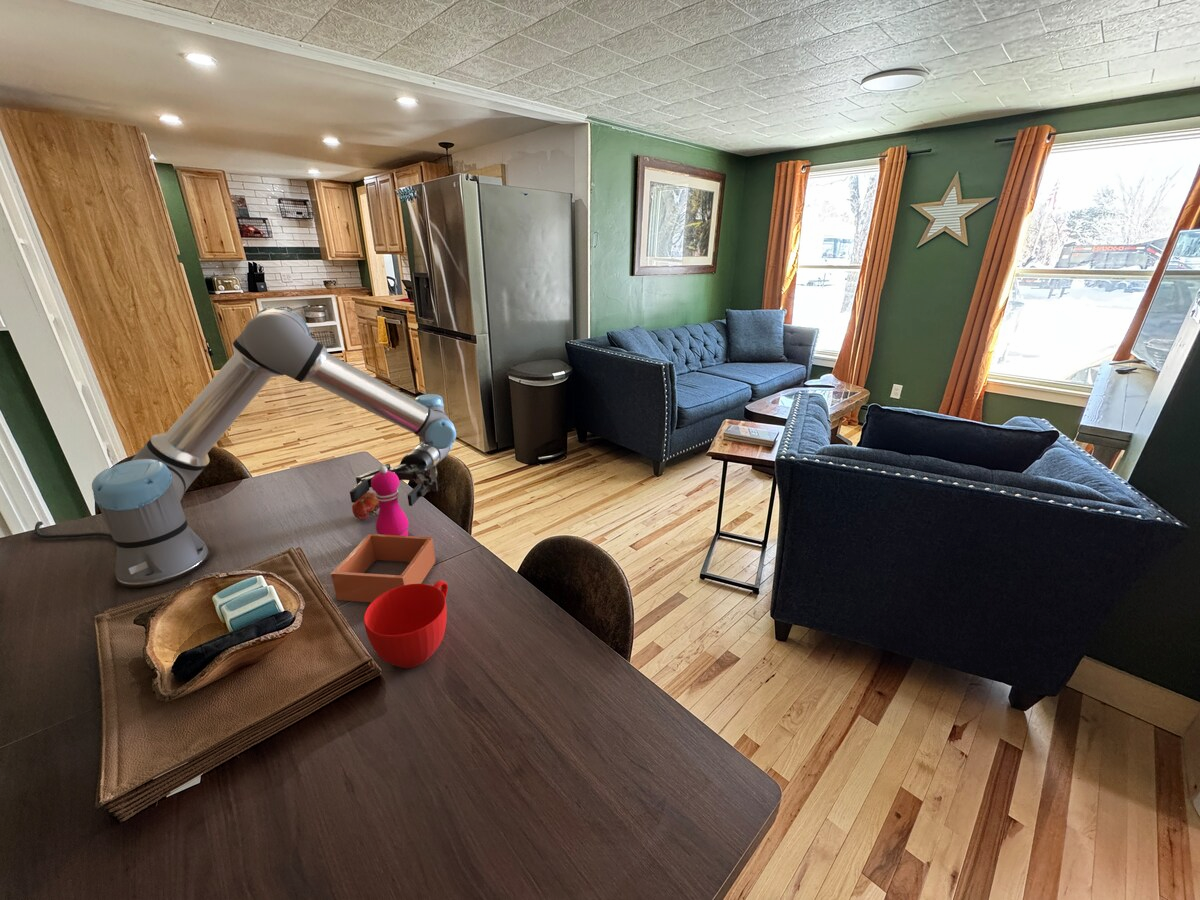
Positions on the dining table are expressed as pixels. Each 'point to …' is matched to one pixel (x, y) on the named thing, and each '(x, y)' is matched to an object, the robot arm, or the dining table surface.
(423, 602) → the ceramic cup
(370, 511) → the pomegranate
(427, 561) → the open wooden tray
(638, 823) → the dining table surface
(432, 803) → the dining table surface
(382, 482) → the pepper mill
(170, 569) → the robot arm
